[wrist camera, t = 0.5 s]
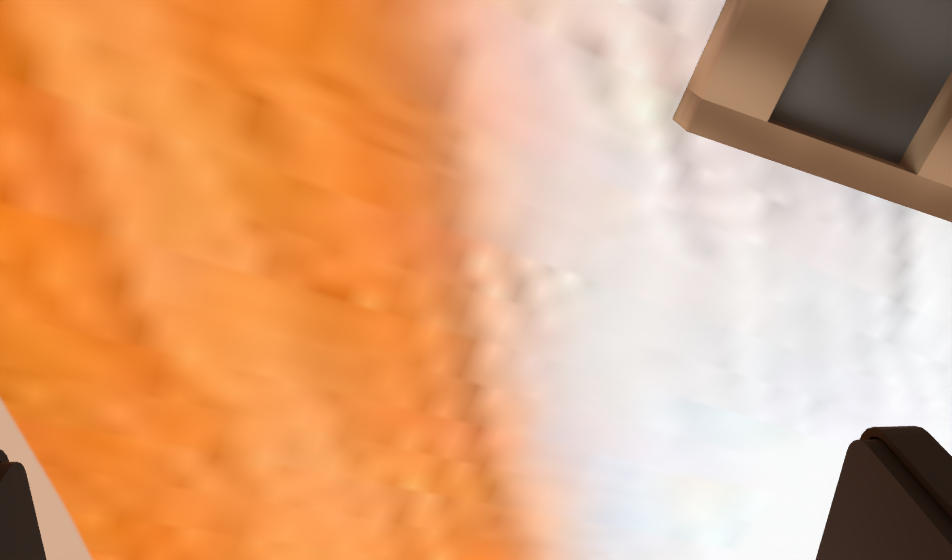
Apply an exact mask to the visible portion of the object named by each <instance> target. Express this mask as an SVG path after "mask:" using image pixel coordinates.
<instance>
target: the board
mask: <svg viewBox="0 0 952 560" xmlns="http://www.w3.org/2000/svg"><path fill="white" fill-rule="evenodd" d="M673 120H674V121H676V122H677V123H678V124H679V125H680V126H681V127H682V128H684V129H685V130H686V131H687V132H690V133H693V134H696V135H699V136H702V137H705V138H708V139H711V140H714V141H716V142H719V143H722V144H725V145H728V146H731V147H734V148H737V149H740V150H743V151H746V152H749V153H751V154H754V155H757V156H760V157H763V158H766V159H769V160H772V161H775V162H778V163H781V164H784V165H786V166H789V167H792V168H795V169H798V170H801V171H804V172H807V173H810V174H813V175H816V176H819V177H821V178H824V179H827V180H830V181H833V182H836V183H839V184H842V185H845V186H848V187H851V188H853V189H856V190H859V191H862V192H865V193H868V194H871V195H874V196H877V197H880V198H883V199H886V200H888V201H891V202H894V203H897V204H900V205H903V206H906V207H909V208H912V209H915V210H918V211H921V212H923V213H926V214H929V215H932V216H935V217H938V218H941V219H944V220H947V221H950V222H952V0H726V3H725V5H724V7H723V9H722V11H721V14H720V16H719V18H718V20H717V22H716V25H715V27H714V29H713V31H712V33H711V36H710V38H709V40H708V42H707V44H706V47H705V49H704V51H703V53H702V55H701V58H700V60H699V62H698V64H697V66H696V69H695V71H694V73H693V75H692V77H691V80H690V82H689V84H688V86H687V88H686V91H685V93H684V95H683V97H682V99H681V102H680V104H679V106H678V108H677V110H676V113H675V115H674V117H673Z"/></svg>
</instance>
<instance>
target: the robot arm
mask: <svg viewBox="0 0 952 560" xmlns="http://www.w3.org/2000/svg"><path fill="white" fill-rule="evenodd" d="M0 560H46V556H45V552H44V547H43V543H42V539H41V534H40V530H39V526H38V522H37V517H36V513H35V509H34V504H33V500H32V496H31V492H30V487H29V483H28V479H27V474H26V471H25V468H24V466H23V465H22V464H21V463H18V462H9V460H8V458H7V455H6V454H5V453H4V452H3V451H2V450H0ZM816 560H952V456H951V455H950V454H949V453H948V452H947V451H946V450H945V449H944V448H943V447H942V446H941V445H940V444H939V443H938V442H937V441H936V440H935V439H934V438H933V437H932V436H931V435H930V434H929V433H928V432H927V431H926V430H924V429H923V428H921V427H917V426H897V427H872V428H868V429H866V431H865V432H864V433H863V434H862V435H861V438H860V440H855V441H853V442H852V443H851V444H850V445H849V447H848V450H847V453H846V456H845V460H844V463H843V467H842V470H841V474H840V477H839V481H838V484H837V487H836V491H835V494H834V498H833V501H832V505H831V508H830V512H829V515H828V519H827V522H826V526H825V529H824V533H823V536H822V540H821V543H820V546H819V550H818V553H817V557H816Z"/></svg>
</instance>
